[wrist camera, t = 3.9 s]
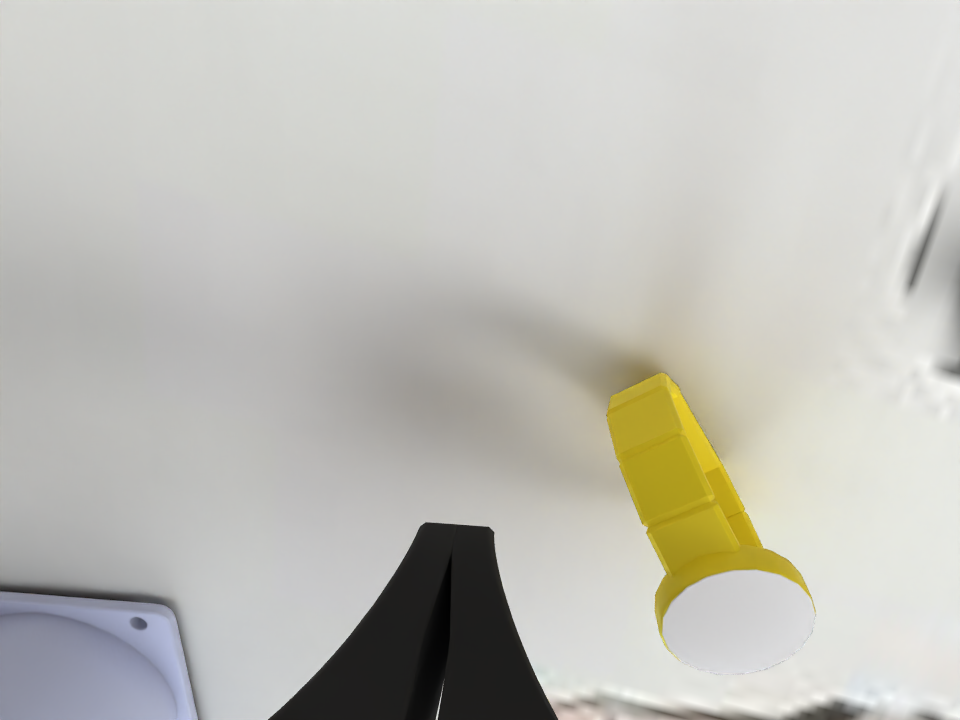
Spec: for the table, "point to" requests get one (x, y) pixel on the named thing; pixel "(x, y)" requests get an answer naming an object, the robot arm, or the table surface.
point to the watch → (704, 541)
